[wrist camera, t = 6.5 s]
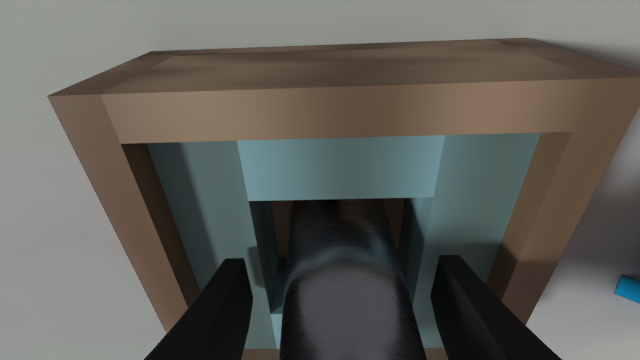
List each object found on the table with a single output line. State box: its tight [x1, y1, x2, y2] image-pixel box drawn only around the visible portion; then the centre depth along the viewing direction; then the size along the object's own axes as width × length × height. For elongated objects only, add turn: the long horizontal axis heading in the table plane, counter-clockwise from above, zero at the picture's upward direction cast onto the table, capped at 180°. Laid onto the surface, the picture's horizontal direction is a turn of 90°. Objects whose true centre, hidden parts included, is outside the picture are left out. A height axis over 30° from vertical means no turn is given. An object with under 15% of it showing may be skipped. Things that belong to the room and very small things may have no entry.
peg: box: [279, 198, 427, 360], centre depth 11 cm, size 4×4×7 cm
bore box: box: [47, 38, 640, 360], centre depth 12 cm, size 13×13×5 cm
